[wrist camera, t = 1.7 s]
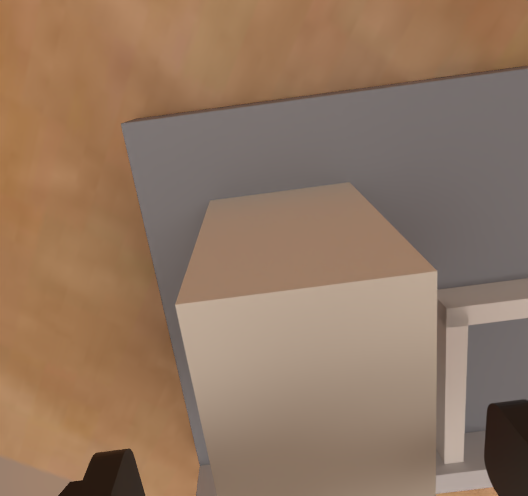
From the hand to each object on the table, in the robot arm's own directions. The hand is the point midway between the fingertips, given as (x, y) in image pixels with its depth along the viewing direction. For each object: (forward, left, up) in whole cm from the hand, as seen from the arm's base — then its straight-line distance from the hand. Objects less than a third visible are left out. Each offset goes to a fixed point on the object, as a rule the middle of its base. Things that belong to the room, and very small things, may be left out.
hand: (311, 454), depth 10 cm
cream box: (0, 0, -8) cm, 8 cm away
